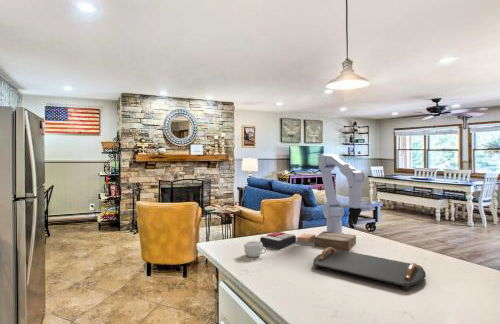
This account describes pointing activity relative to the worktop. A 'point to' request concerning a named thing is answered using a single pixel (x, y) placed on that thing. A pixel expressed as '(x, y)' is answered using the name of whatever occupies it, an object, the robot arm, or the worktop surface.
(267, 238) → the calculator
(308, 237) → the peach upright slab
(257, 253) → the teacup
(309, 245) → the mat
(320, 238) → the brown flat block
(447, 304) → the worktop surface
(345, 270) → the serving board
